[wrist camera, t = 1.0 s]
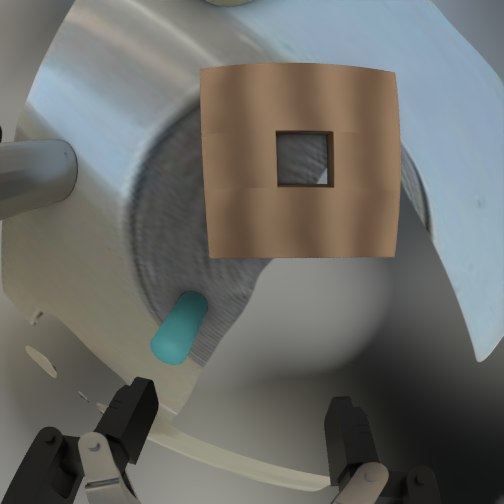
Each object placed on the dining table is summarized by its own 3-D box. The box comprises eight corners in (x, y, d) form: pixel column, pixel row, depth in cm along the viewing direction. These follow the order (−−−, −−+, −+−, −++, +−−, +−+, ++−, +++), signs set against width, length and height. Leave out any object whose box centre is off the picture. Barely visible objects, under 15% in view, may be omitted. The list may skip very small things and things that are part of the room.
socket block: (217, 246, 33) (209, 258, 30) (209, 79, 27) (200, 69, 23) (382, 245, 31) (394, 256, 28) (382, 81, 25) (395, 72, 21)
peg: (181, 316, 37) (155, 362, 28) (177, 290, 36) (146, 333, 26) (209, 318, 37) (189, 366, 27) (206, 291, 36) (182, 336, 26)
